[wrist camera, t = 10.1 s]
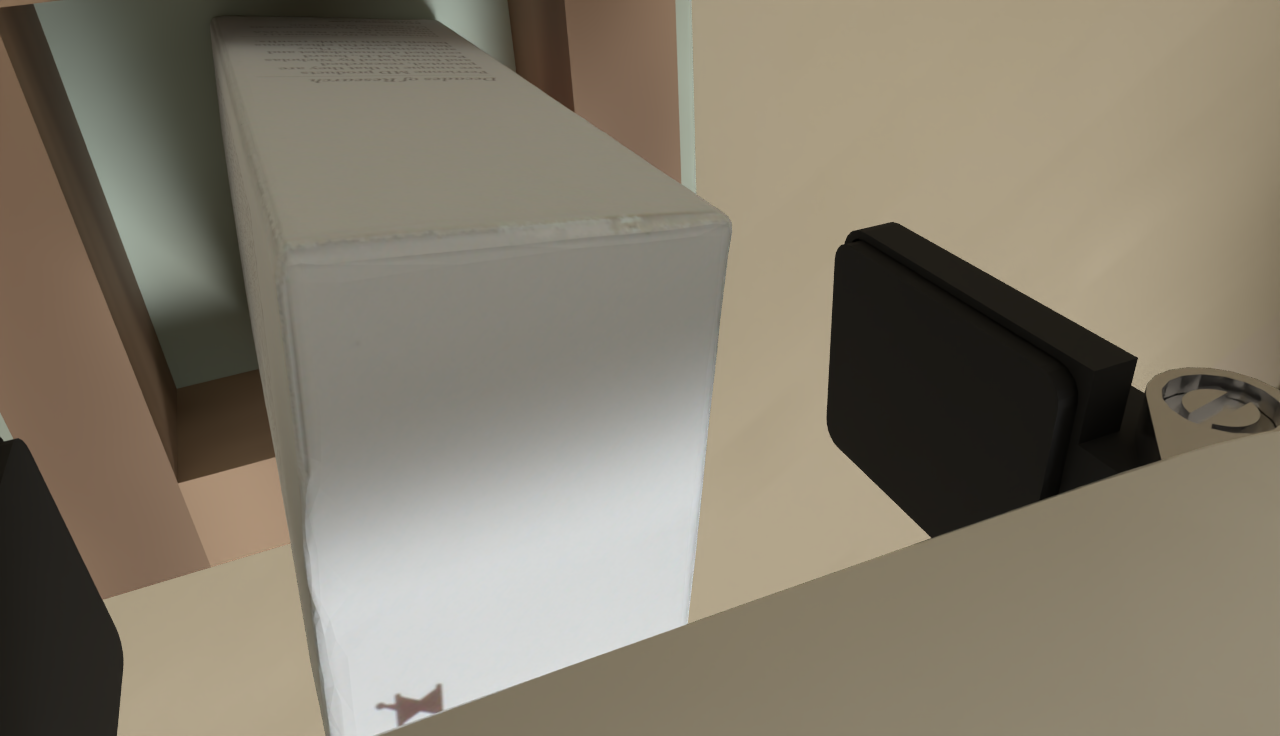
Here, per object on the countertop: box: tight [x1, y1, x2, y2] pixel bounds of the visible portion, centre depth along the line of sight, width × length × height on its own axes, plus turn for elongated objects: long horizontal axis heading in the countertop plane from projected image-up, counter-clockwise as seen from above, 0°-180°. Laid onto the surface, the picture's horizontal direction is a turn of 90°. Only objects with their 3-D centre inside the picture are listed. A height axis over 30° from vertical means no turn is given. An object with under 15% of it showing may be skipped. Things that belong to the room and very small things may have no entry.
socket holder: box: [0, 0, 696, 600], centre depth 18 cm, size 16×16×4 cm
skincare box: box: [210, 16, 732, 736], centre depth 14 cm, size 6×4×12 cm
